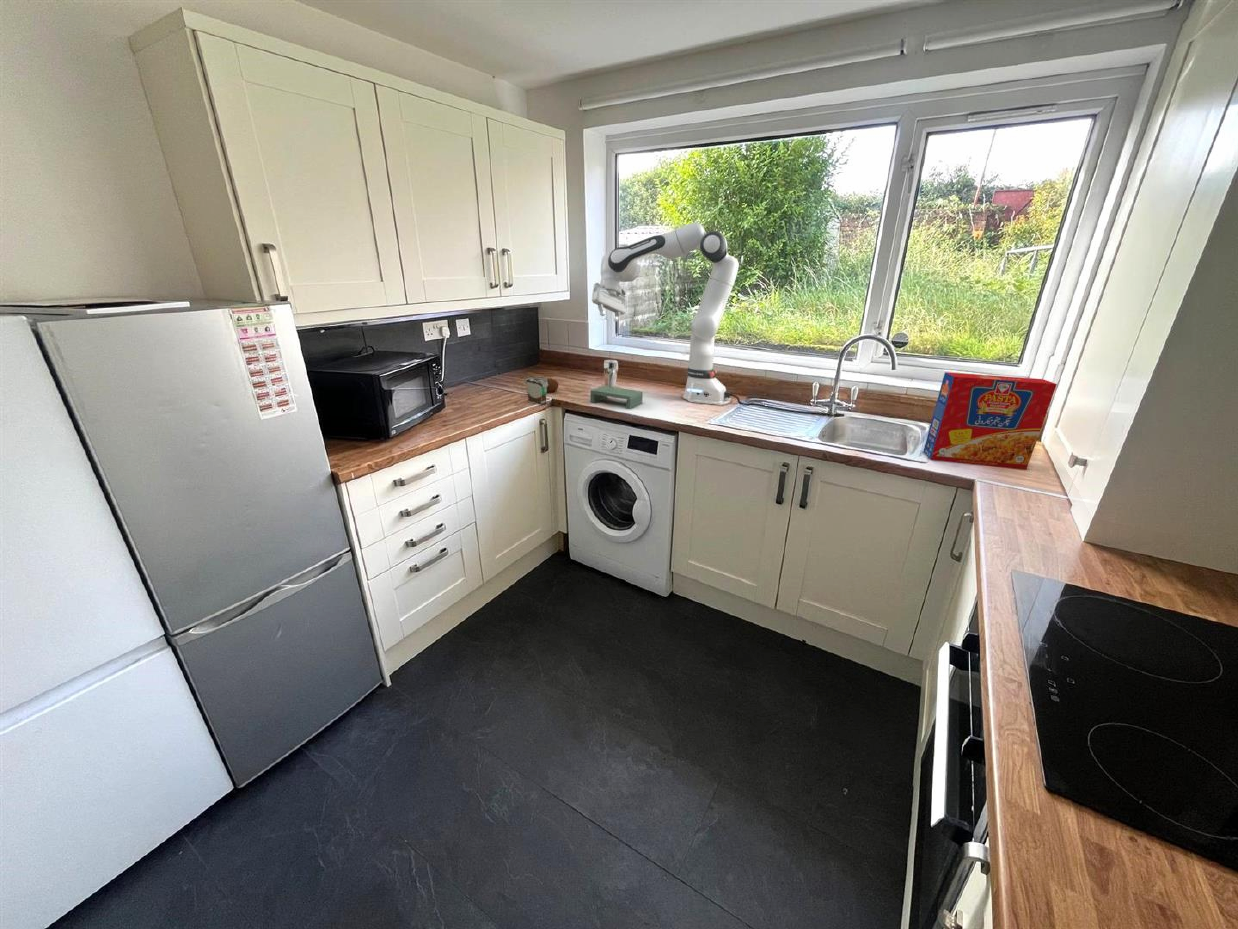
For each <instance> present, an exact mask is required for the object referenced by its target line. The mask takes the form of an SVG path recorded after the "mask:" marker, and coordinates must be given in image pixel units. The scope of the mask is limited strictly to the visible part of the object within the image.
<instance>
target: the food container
mask: <svg viewBox="0 0 1238 929" xmlns="http://www.w3.org/2000/svg"><path fill="white" fill-rule="evenodd" d="M546 379H547V378H542V377H526V378H525V385H526V393H527V402H530V403H533V404H536V405H538V406H539V405H540V406H544V405H546V403H547V393H548V392H547V386H548V382H547V380H546Z"/></svg>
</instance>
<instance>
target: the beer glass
mask: <svg viewBox="0 0 1238 929" xmlns="http://www.w3.org/2000/svg"><path fill="white" fill-rule="evenodd" d="M618 374H619V361H618V360H616V359H604V361H603V378H604V380H603V381H604V386H611V387H617V379H618Z"/></svg>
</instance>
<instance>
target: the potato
mask: <svg viewBox="0 0 1238 929" xmlns="http://www.w3.org/2000/svg"><path fill="white" fill-rule="evenodd" d="M545 379H546V380H547V382H548V386H547V392H546V393H553V392H556V391H558V389H559V382H558V380H556V379H552V378H545Z"/></svg>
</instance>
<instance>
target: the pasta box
mask: <svg viewBox="0 0 1238 929" xmlns="http://www.w3.org/2000/svg"><path fill="white" fill-rule="evenodd" d="M1057 385H1058V384H1057V383H1055V382H1052V381H1050V380H1047V379H1043V378H1034V377H1033V378H1032V377H1019V376H1007V375H1006V376H1005V375H989V374H977V373H963V372H949V371H948V372H947V371H945V372H944V374H943V378H942V381H941V386H940V389H939V392H938V395H937V400H936V402H935V406H934V411H933V414H932V417H931V421H930V426H929V429H928V433H927V436H926V440H925V443H924V448H923V450H922V453H923V454H924V455H925V456H926V457H927V458H928V459H929V460H930V461H938V462H945V463H956V464H957V463H958V464H966V465H977V466H986V467H993V468H994V467H996V468H1004V469H1005V468H1006V469H1015V470H1026V471H1027V469H1028V466H1029V463H1030V461H1031V458H1032V455H1033V454H1034V453H1033V452H1034V450H1035V448H1036V444H1037V441H1038V438H1039V437H1040V433H1041V430H1042V427H1043V425H1044V421H1045V420H1046V416H1047V414H1048V410H1049V408H1050V405H1051V402H1052V399H1053V397H1054V393H1055V391H1056V388H1057Z"/></svg>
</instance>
